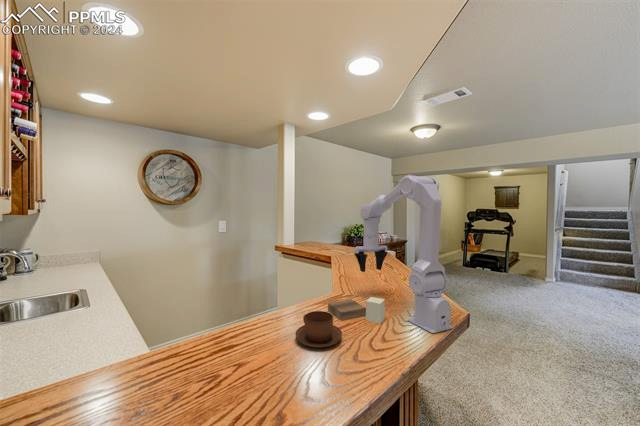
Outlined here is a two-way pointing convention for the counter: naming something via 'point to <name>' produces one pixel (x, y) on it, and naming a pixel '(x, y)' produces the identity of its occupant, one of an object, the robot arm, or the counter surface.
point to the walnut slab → (346, 309)
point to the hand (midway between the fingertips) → (370, 270)
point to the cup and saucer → (318, 330)
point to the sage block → (375, 310)
